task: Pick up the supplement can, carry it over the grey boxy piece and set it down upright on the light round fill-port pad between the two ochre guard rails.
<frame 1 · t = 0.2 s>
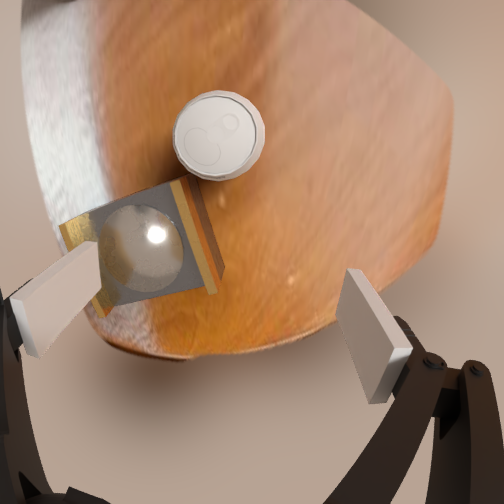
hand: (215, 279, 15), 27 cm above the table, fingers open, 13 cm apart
grey boxy piece: (151, 237, 43), on the table
supplement can: (231, 137, 38), on the table
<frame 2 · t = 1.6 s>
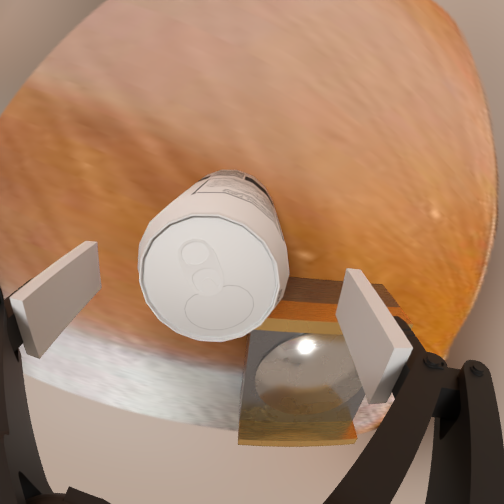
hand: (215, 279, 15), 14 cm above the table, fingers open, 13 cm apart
grey boxy piece: (306, 348, 34), on the table
supplement can: (229, 211, 29), on the table
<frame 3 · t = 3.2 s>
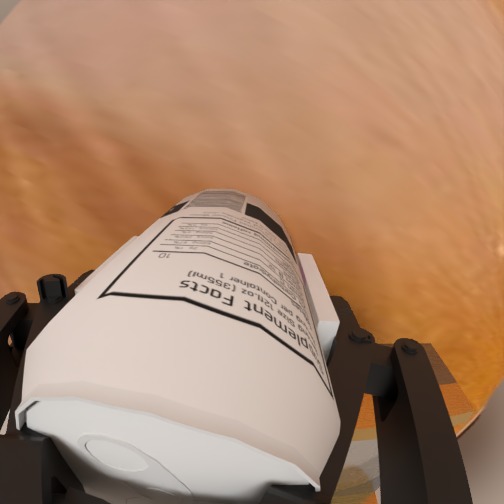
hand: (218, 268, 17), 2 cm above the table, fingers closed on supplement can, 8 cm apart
grey boxy piece: (325, 419, 24), on the table
supplement can: (223, 252, 19), on the table, touching gripper
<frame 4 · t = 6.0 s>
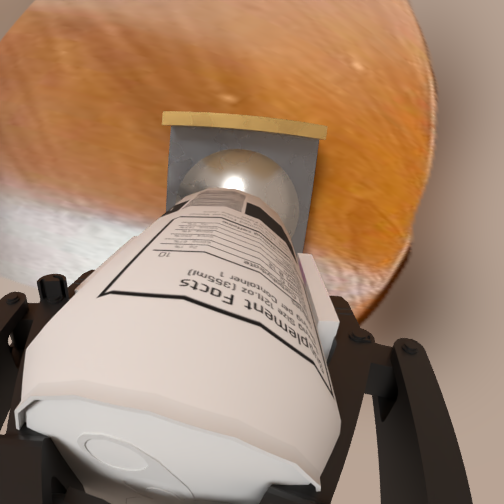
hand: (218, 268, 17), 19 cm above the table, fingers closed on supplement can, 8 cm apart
grey boxy piece: (239, 200, 34), on the table
supplement can: (223, 251, 19), point 16 cm above the table, touching gripper
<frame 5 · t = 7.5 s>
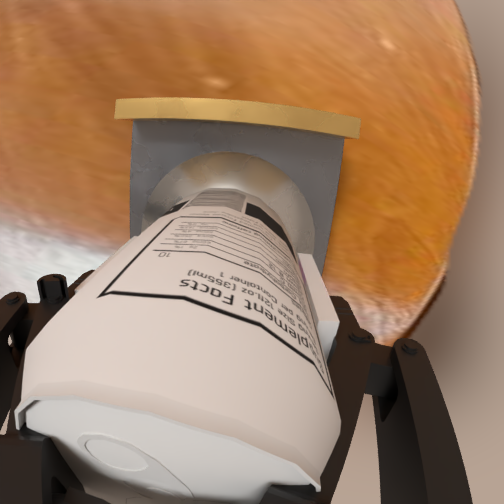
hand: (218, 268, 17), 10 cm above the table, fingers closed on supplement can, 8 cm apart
grey boxy piece: (231, 221, 26), on the table
supplement can: (223, 251, 19), point 7 cm above the table, touching gripper
when the fingers open (8 cm above the table, at t = 8.7 s): supplement can stays where it is, resting on grey boxy piece.
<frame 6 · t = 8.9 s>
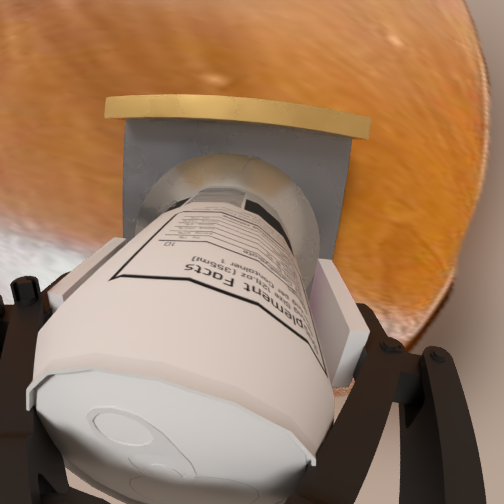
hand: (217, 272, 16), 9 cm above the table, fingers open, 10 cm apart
grey boxy piece: (231, 226, 24), on the table
supplement can: (223, 247, 20), point 5 cm above the table, touching grey boxy piece
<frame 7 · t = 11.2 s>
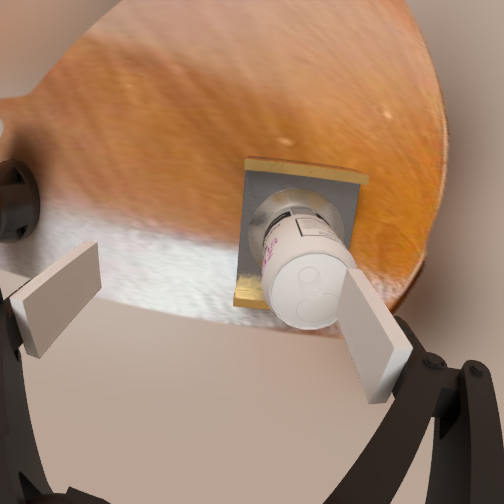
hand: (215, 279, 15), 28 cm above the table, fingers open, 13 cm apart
grey boxy piece: (293, 225, 43), on the table
supplement can: (296, 236, 38), point 5 cm above the table, touching grey boxy piece
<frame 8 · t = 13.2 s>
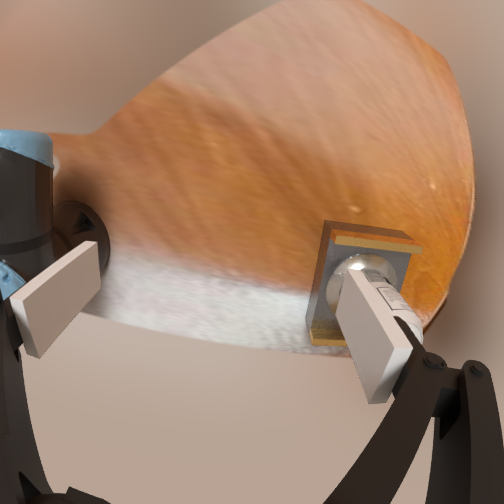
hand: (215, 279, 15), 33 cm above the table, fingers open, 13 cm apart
grey boxy piece: (353, 276, 51), on the table
supplement can: (362, 289, 46), point 5 cm above the table, touching grey boxy piece
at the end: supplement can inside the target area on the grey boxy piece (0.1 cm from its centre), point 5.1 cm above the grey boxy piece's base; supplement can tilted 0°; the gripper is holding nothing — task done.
